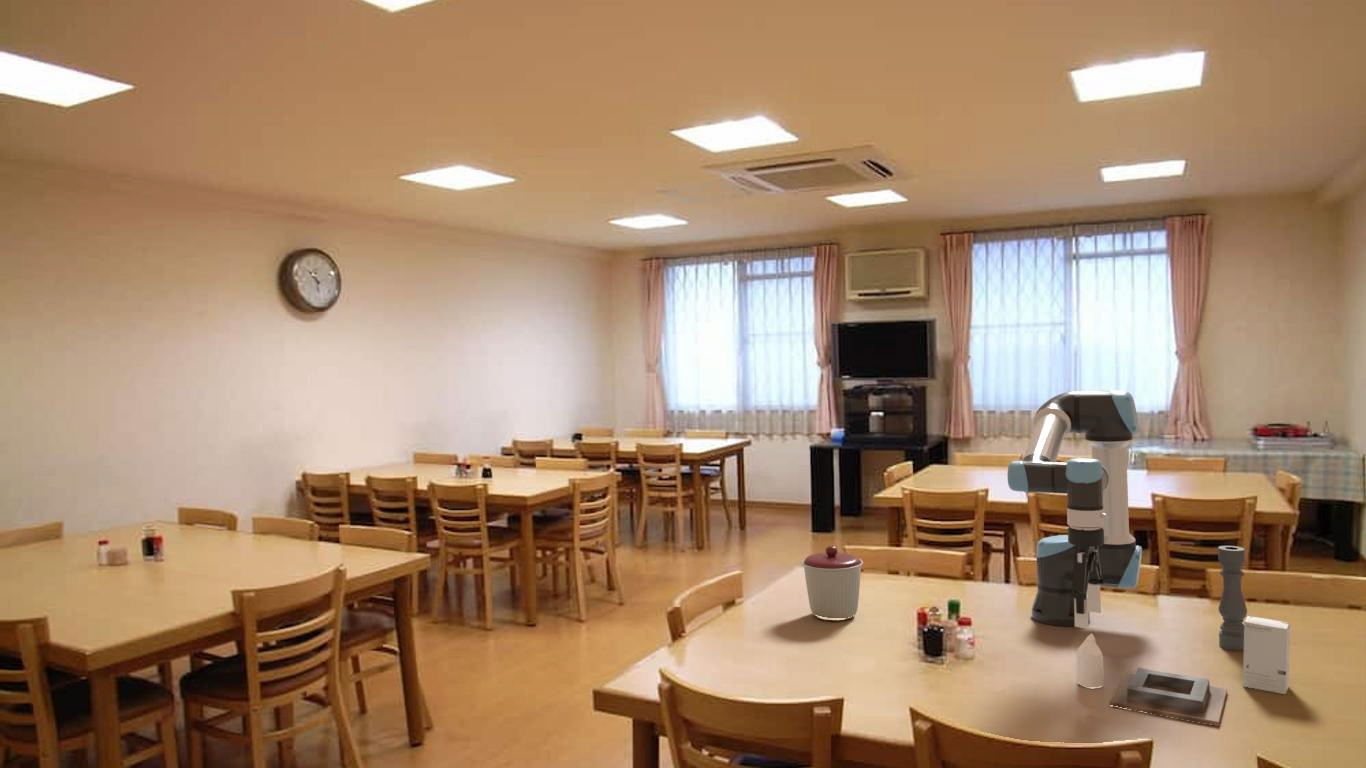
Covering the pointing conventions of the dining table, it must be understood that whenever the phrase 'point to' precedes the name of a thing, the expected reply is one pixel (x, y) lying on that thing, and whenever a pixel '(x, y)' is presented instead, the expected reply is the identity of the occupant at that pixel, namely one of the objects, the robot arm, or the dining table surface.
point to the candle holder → (1232, 598)
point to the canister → (833, 583)
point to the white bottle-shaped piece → (1089, 663)
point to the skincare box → (1266, 654)
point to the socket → (1171, 696)
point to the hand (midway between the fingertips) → (1088, 619)
